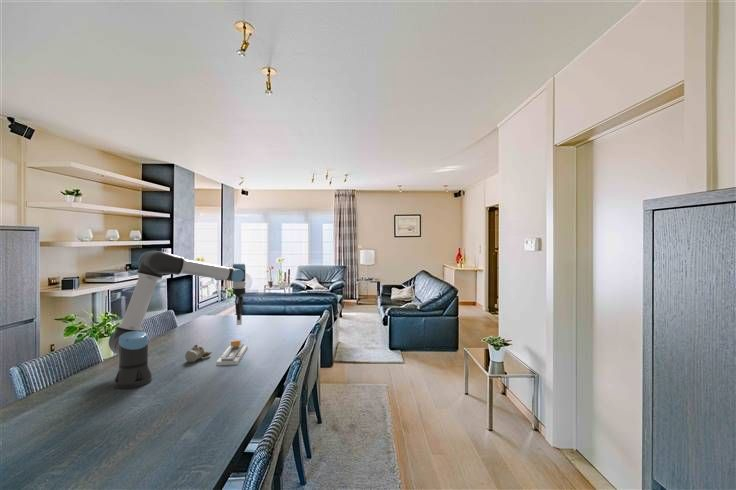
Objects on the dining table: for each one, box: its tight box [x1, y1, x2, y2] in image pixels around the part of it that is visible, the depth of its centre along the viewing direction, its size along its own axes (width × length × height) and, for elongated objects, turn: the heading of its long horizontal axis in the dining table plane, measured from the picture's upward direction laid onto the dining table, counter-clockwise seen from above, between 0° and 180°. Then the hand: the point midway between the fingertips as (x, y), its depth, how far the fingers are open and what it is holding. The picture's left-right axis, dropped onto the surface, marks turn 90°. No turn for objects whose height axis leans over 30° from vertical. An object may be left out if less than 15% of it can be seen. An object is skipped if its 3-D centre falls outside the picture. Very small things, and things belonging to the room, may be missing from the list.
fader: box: [230, 339, 242, 350], centre depth 215 cm, size 3×5×5 cm, turn 99°
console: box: [216, 343, 249, 366], centre depth 208 cm, size 30×11×3 cm, turn 9°
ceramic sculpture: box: [184, 344, 212, 363], centre depth 202 cm, size 11×9×15 cm
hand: (239, 324), depth 223 cm, fingers closed
